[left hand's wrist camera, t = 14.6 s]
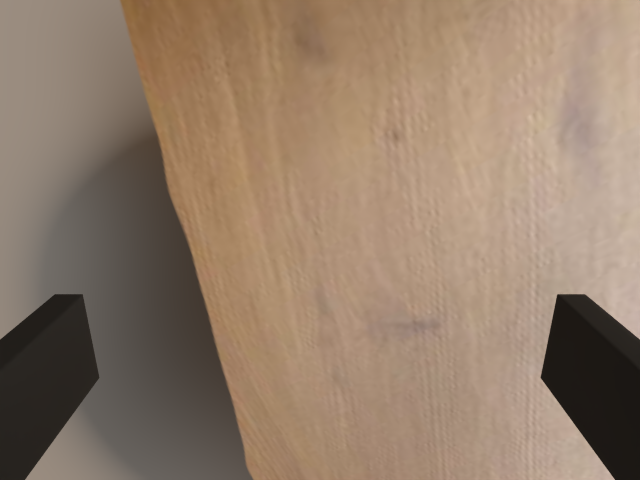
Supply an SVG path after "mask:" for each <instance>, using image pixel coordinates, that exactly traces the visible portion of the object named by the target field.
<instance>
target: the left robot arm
mask: <svg viewBox="0 0 640 480" xmlns="http://www.w3.org/2000/svg"><path fill="white" fill-rule="evenodd" d="M98 379H99V374H98V369H97V364H96V359H95V354H94V349H93V344H92V339H91V334H90V329H89V324H88V319H87V314H86V309H85V304H84V299H83V295H82V294H55V295H54V296H52V297H51V298H50V299H49V300H48V301H46V302H45V303H44V304H43V305H42V306H40V307H39V308H38V309H37V310H36V311H34V312H33V313H32V314H31V315H29V316H28V317H27V318H26V319H25V320H23V321H22V322H21V323H20V324H19V325H17V326H16V327H15V328H14V329H13V330H11V331H10V332H9V333H8V334H6V335H5V336H4V337H3V338H2V339H0V480H25V479H26V478H27V476H28V475H29V473H30V472H31V471H32V469H33V468H34V467H35V465H36V464H37V462H38V461H39V460H40V458H41V457H42V456H43V454H44V453H45V451H46V450H47V449H48V447H49V446H50V445H51V443H52V442H53V440H54V439H55V438H56V436H57V435H58V434H59V432H60V431H61V429H62V428H63V427H64V425H65V424H66V423H67V421H68V420H69V418H70V417H71V416H72V414H73V413H74V412H75V410H76V409H77V408H78V406H79V405H80V403H81V402H82V401H83V399H84V398H85V397H86V395H87V394H88V392H89V391H90V390H91V388H92V387H93V386H94V384H95V383H96V381H97V380H98ZM541 379H542V380H543V382H544V383H545V384H546V386H547V387H548V388H549V390H550V391H551V393H552V394H553V395H554V397H555V398H556V399H557V401H558V402H559V403H560V405H561V406H562V408H563V409H564V410H565V412H566V413H567V414H568V416H569V417H570V419H571V420H572V421H573V423H574V424H575V425H576V427H577V428H578V430H579V431H580V432H581V434H582V435H583V436H584V438H585V439H586V440H587V442H588V443H589V445H590V446H591V447H592V449H593V450H594V451H595V453H596V454H597V456H598V457H599V458H600V460H601V461H602V462H603V464H604V465H605V467H606V468H607V469H608V471H609V472H610V473H611V475H612V476H613V478H614V479H615V480H640V339H638V338H637V337H636V336H635V335H634V334H632V333H631V332H630V331H629V330H627V329H626V328H625V327H624V326H623V325H621V324H620V323H619V322H618V321H617V320H615V319H614V318H613V317H612V316H611V315H609V314H608V313H607V312H606V311H605V310H603V309H602V308H601V307H600V306H598V305H597V304H596V303H595V302H594V301H592V300H591V299H590V298H589V297H588V296H586V295H585V294H557V299H556V304H555V309H554V314H553V319H552V324H551V329H550V334H549V339H548V344H547V349H546V354H545V359H544V364H543V369H542V374H541Z"/></svg>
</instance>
